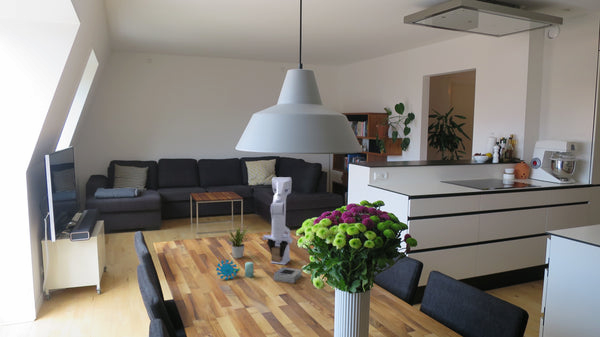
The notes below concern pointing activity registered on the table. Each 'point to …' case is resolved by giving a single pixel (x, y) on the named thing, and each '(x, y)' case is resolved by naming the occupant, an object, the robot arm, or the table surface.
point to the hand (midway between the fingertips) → (277, 256)
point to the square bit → (276, 254)
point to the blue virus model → (227, 269)
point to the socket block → (287, 275)
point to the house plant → (238, 243)
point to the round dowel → (249, 269)
